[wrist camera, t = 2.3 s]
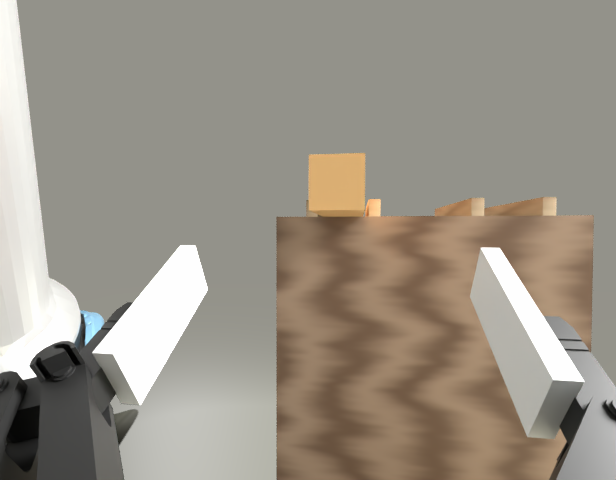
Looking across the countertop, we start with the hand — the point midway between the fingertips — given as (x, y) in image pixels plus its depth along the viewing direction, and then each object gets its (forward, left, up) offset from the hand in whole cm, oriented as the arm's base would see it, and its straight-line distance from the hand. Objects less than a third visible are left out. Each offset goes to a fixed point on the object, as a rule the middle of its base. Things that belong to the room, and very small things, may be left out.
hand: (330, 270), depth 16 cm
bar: (0, +17, +3) cm, 18 cm away
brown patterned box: (+7, +21, -27) cm, 35 cm away
